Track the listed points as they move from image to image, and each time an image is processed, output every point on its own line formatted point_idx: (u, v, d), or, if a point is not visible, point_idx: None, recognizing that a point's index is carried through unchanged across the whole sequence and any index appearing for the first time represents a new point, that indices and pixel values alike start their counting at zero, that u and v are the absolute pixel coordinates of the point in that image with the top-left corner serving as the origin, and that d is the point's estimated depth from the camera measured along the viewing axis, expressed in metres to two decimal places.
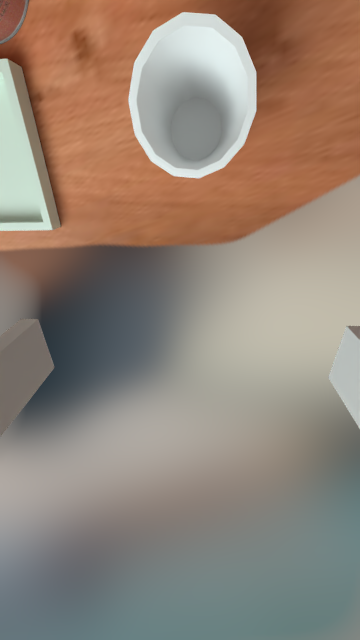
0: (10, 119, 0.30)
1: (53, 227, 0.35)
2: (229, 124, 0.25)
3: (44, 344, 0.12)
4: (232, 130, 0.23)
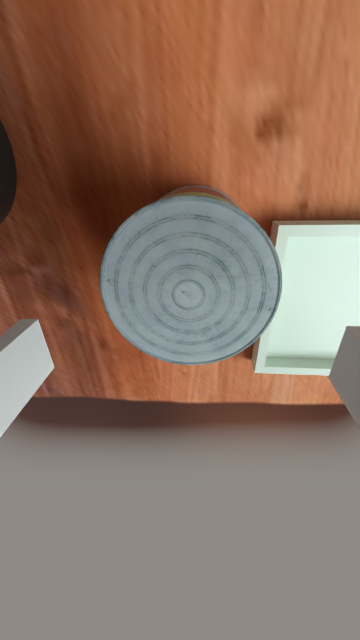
0: (318, 250, 0.25)
1: None
2: None
3: (44, 344, 0.12)
4: None
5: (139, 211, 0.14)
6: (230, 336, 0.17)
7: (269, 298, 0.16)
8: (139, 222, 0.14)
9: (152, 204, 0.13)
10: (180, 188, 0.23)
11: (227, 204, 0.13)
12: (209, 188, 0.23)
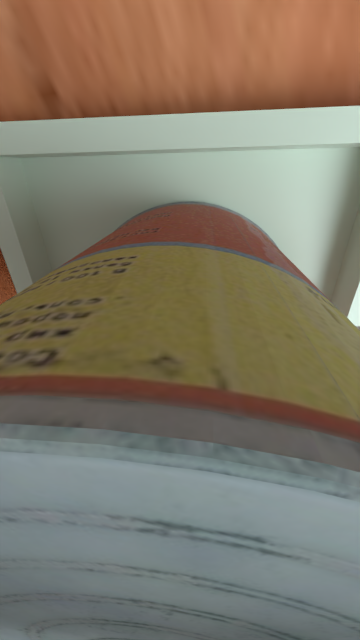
0: (105, 197, 0.12)
1: None
2: None
3: None
4: None
5: None
6: None
7: None
8: None
9: None
10: (158, 207, 0.12)
11: None
12: (217, 207, 0.11)
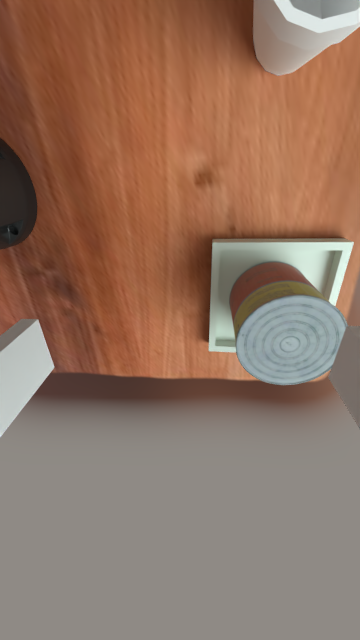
0: (245, 259, 0.35)
1: (350, 241, 0.31)
2: None
3: (44, 344, 0.12)
4: None
5: (271, 301, 0.25)
6: (311, 368, 0.28)
7: None
8: (269, 306, 0.25)
9: (279, 298, 0.25)
10: (264, 263, 0.35)
11: (322, 300, 0.24)
12: (284, 263, 0.34)
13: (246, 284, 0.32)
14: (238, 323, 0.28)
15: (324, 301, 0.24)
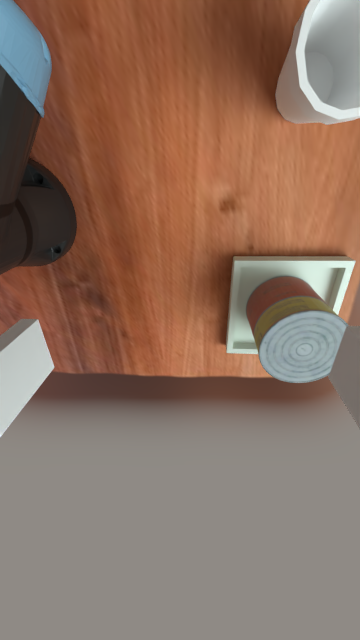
0: (261, 273, 0.40)
1: (352, 260, 0.37)
2: (335, 21, 0.23)
3: (44, 344, 0.12)
4: None
5: (291, 315, 0.30)
6: (321, 368, 0.34)
7: None
8: (289, 319, 0.30)
9: (298, 313, 0.30)
10: (278, 277, 0.40)
11: (332, 314, 0.29)
12: (295, 277, 0.40)
13: (264, 297, 0.37)
14: (260, 332, 0.33)
15: (334, 315, 0.30)
